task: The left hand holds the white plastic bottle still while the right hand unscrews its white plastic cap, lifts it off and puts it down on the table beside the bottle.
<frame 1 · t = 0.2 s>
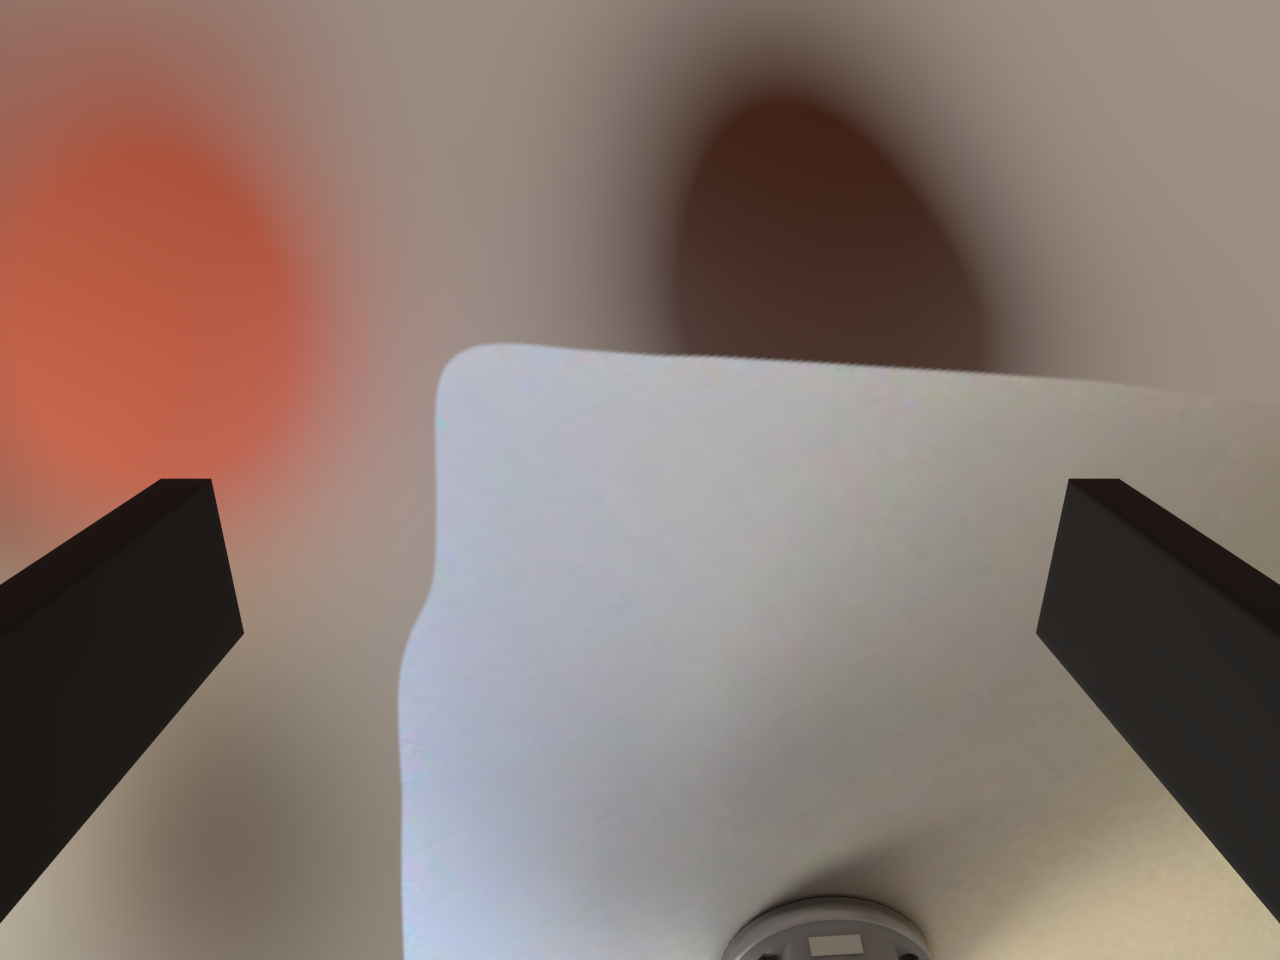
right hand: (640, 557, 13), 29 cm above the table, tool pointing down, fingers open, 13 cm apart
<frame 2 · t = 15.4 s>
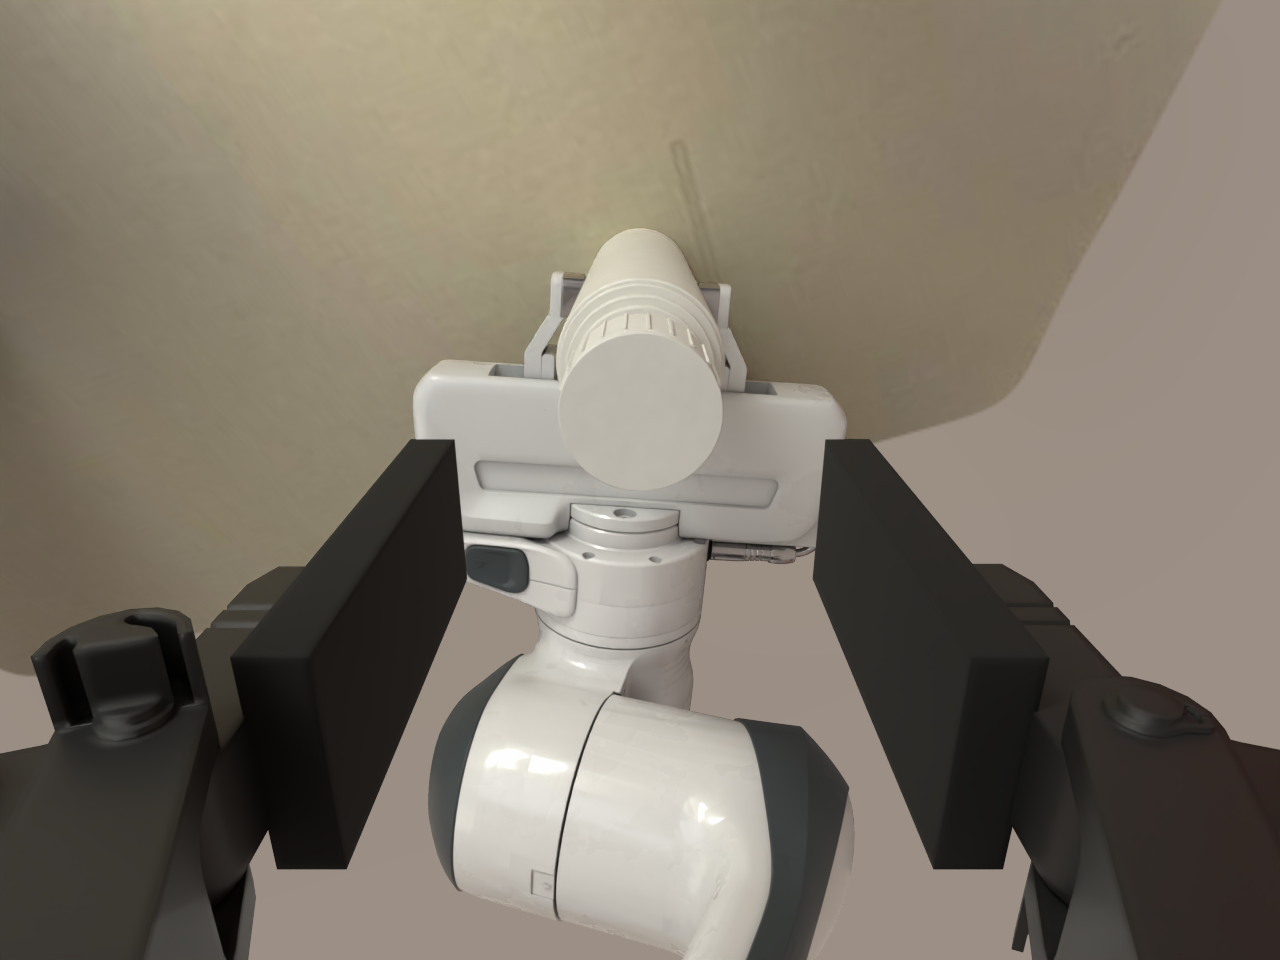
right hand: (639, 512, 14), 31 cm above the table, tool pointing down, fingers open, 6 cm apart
left hand: (640, 278, 36), fingers closed on bottle, 5 cm apart
cap: (640, 411, 20), point 24 cm above the table, screwed on, not yet turned
bottle: (640, 278, 43), on the table, touching left hand
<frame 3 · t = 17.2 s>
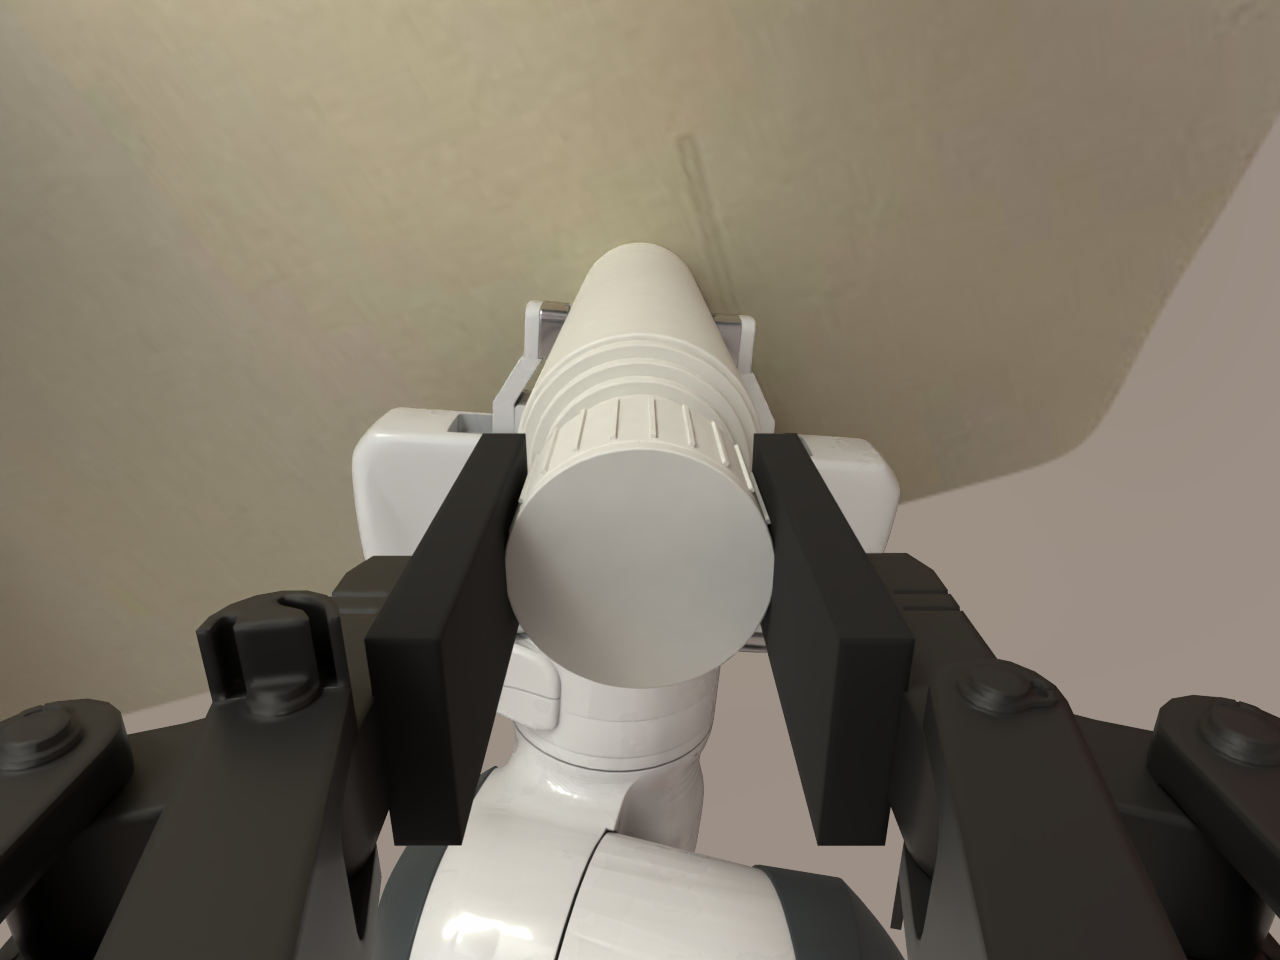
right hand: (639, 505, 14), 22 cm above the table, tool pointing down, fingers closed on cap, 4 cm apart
cap: (639, 567, 12), point 24 cm above the table, screwed on, not yet turned, touching right hand
bottle: (639, 304, 35), on the table, touching left hand
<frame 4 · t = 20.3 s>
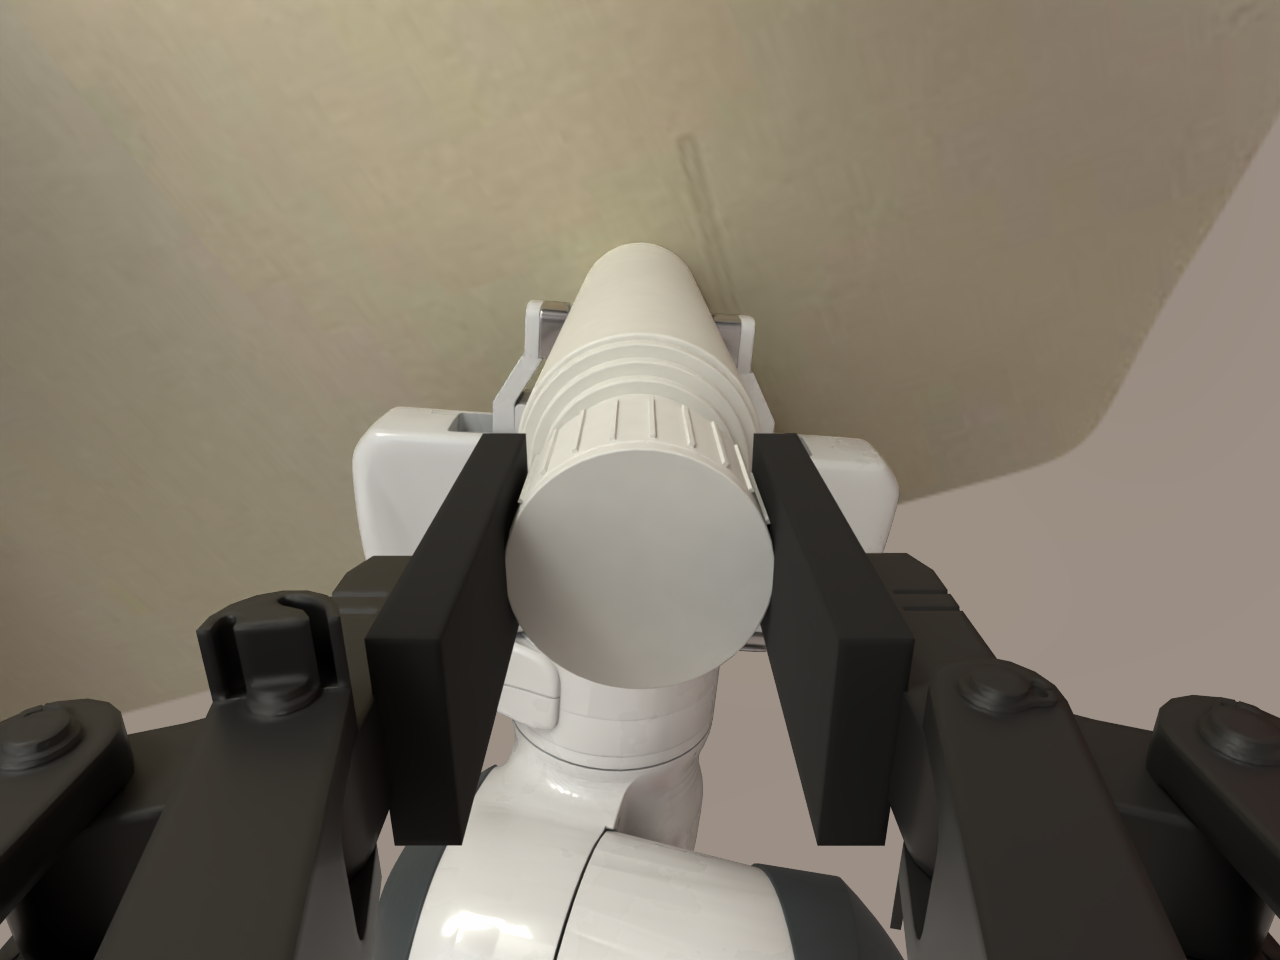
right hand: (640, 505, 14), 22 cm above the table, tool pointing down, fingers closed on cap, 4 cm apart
cap: (639, 567, 12), point 25 cm above the table, turned 82° so far, risen 0.1 cm, still on its thread, touching right hand
bottle: (639, 304, 35), on the table, touching left hand
when the right hand's fingers open (1 cm above the table, at t = 37.8 s): cap drops 1 cm, point 2 cm above the table.
when the left hand's fingers open (7 cm above the table, at t = 39.2 s): bottle stays where it is, on the table.
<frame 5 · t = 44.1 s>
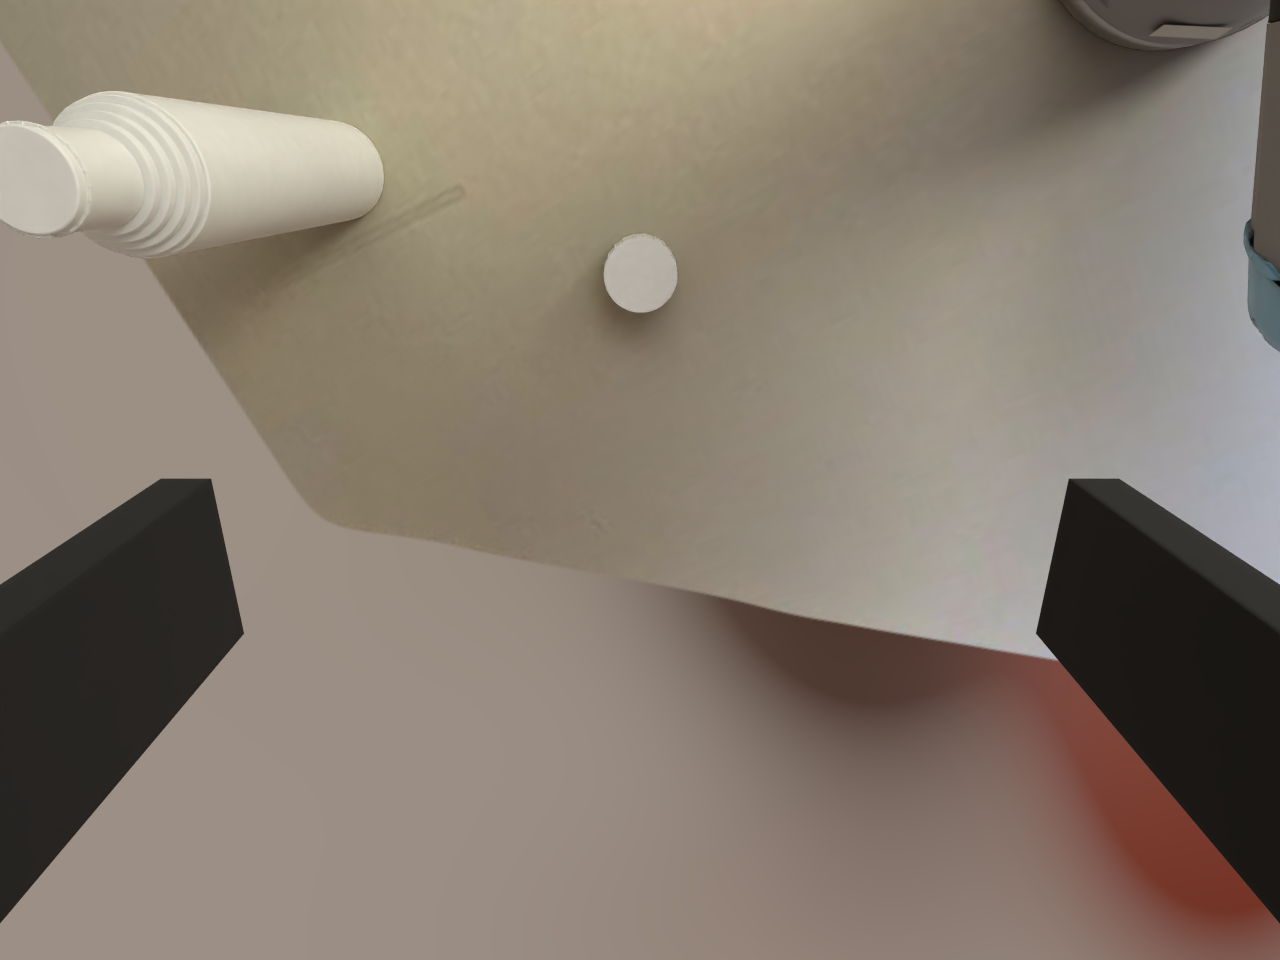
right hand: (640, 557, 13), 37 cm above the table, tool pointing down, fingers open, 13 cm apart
cap: (640, 275, 44), point 2 cm above the table, off its thread
bottle: (337, 171, 45), on the table
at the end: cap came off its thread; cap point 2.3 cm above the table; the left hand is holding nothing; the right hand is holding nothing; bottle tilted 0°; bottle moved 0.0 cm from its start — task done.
